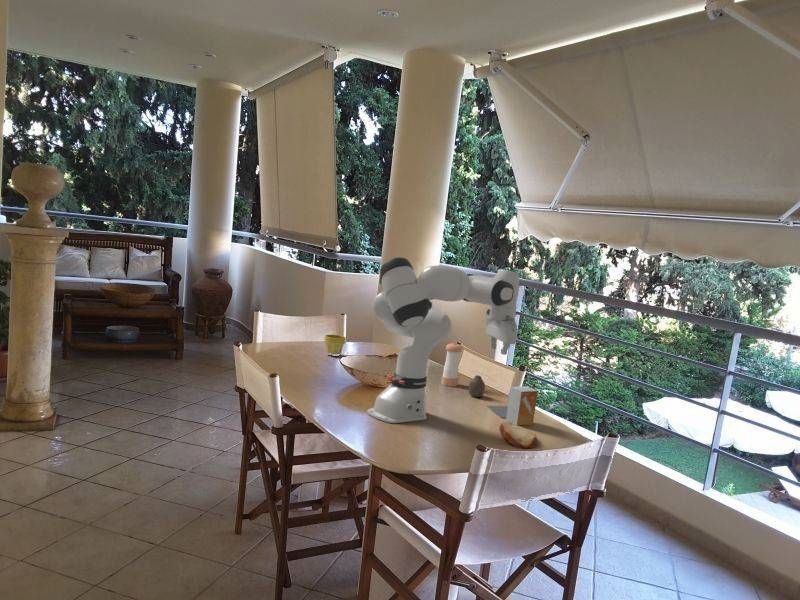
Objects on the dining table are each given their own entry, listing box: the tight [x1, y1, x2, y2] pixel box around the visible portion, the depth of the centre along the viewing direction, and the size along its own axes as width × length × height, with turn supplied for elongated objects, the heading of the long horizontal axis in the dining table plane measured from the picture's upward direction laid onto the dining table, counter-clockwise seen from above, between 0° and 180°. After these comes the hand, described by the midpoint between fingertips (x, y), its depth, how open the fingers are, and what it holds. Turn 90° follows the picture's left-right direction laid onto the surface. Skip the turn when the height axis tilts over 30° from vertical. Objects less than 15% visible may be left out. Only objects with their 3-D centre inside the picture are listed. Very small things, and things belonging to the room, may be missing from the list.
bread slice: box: [499, 421, 538, 450], centre depth 203 cm, size 18×18×4 cm
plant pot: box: [324, 333, 347, 355], centre depth 297 cm, size 10×10×10 cm
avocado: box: [468, 375, 486, 398], centre depth 250 cm, size 7×7×9 cm
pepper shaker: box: [441, 341, 463, 387], centre depth 264 cm, size 7×7×19 cm
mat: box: [486, 405, 508, 419], centre depth 231 cm, size 14×11×1 cm
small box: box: [505, 385, 539, 426], centre depth 220 cm, size 8×6×13 cm
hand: (498, 351), depth 216 cm, fingers open, 8 cm apart
